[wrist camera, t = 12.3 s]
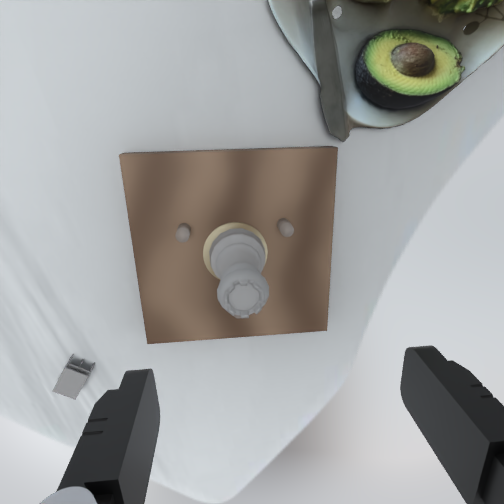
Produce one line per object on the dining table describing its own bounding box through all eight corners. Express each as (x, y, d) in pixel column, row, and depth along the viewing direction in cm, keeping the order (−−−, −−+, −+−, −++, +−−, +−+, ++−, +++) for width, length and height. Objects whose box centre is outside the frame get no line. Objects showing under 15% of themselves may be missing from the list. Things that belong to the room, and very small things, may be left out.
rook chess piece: (231, 288, 30) (236, 344, 22) (197, 247, 28) (191, 294, 21) (275, 257, 29) (295, 305, 22) (243, 215, 28) (253, 250, 20)
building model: (60, 376, 33) (51, 391, 31) (73, 352, 33) (64, 366, 31) (83, 384, 34) (75, 400, 32) (95, 361, 33) (88, 376, 31)
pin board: (331, 146, 28) (346, 149, 25) (322, 321, 34) (333, 342, 31) (123, 152, 27) (112, 157, 24) (150, 334, 32) (143, 356, 29)
